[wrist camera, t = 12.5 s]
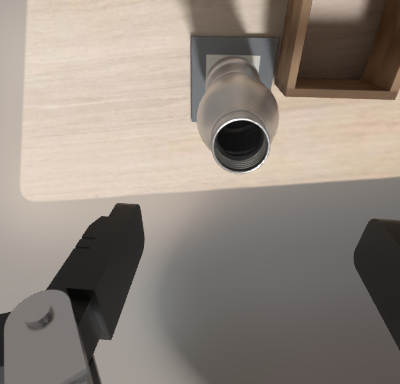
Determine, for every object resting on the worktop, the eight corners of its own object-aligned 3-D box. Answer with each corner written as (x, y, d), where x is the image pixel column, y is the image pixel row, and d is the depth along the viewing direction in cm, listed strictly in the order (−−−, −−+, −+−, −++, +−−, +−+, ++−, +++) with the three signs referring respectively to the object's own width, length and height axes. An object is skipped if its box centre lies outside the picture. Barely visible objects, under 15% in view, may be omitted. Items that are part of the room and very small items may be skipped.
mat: (191, 36, 30) (191, 36, 30) (278, 38, 30) (278, 38, 29) (192, 120, 36) (191, 121, 35) (265, 123, 35) (265, 124, 35)
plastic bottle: (249, 43, 30) (282, 68, 13) (264, 100, 33) (305, 177, 16) (198, 66, 32) (168, 112, 15) (216, 117, 35) (209, 204, 18)
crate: (293, -30, 26) (311, -45, 21) (405, -30, 26) (454, -45, 20) (275, 84, 32) (285, 96, 27) (365, 86, 32) (394, 99, 26)
